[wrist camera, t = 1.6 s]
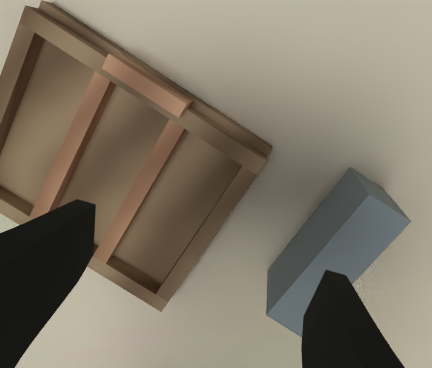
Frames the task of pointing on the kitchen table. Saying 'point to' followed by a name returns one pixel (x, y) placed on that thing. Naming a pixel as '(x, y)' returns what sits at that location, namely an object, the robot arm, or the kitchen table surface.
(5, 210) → the rack
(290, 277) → the blue-gray rectangular block
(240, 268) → the kitchen table surface
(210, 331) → the kitchen table surface
